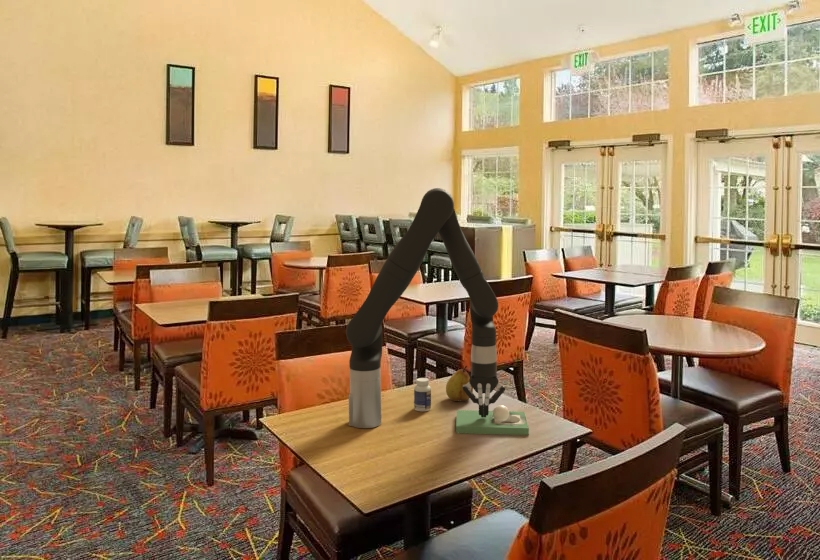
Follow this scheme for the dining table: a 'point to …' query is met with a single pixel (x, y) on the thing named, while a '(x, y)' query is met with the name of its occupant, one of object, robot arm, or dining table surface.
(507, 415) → the ball
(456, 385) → the fruit
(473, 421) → the green flat block
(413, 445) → the dining table surface
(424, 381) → the pill bottle
